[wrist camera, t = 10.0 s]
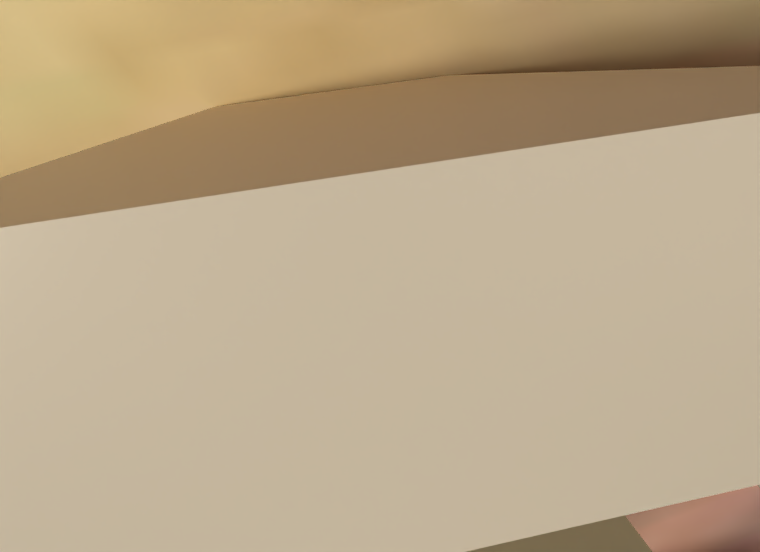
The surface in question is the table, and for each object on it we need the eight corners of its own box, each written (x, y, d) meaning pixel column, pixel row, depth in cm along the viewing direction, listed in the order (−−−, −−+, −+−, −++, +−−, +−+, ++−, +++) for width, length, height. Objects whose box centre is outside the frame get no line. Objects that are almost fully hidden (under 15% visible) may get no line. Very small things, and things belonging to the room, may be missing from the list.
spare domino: (268, 337, 13) (198, 1005, 4) (461, 300, 13) (845, 806, 4) (283, 396, 13) (255, 1090, 4) (466, 359, 14) (803, 911, 5)
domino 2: (215, 106, 11) (-280, 269, 2) (446, 75, 11) (1151, 53, 2) (234, 191, 11) (-22, 663, 2) (452, 157, 12) (999, 430, 3)
